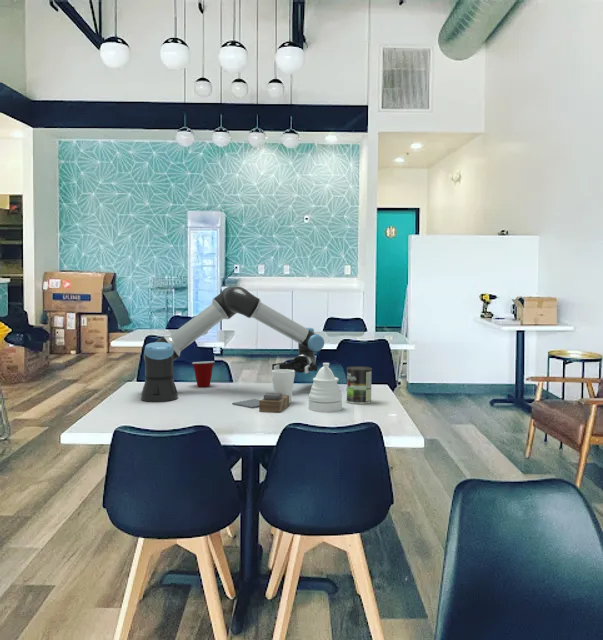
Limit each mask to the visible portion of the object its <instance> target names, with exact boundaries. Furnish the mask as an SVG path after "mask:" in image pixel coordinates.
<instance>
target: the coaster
mask: <svg viewBox="0 0 603 640" xmlns="http://www.w3.org/2000/svg"><path fill="white" fill-rule="evenodd" d="M260 400H261V399H258V398H252V399H245V400H242V401H241V400H240V401H235V402H232V405H234V406H239V407H244V408H249V409H255V408H259V401H260Z"/></svg>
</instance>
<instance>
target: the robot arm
mask: <svg viewBox="0 0 603 640" xmlns="http://www.w3.org/2000/svg"><path fill="white" fill-rule="evenodd" d="M236 314H238V315H242V316H245V317H246V318H248V319H251V318H253V319H255V320H256V321H258V322H260V323H262V324H263V325H266V327H269V328H271V329H273V331H276V332H278V333H279V334H282V335H283V336H285V337H287V338H289V339H290V340H292V341H294V342H296V343H298V344H297V347H298V356H296V357H294V358H293V360H292V361H283V362H279V363H273V364H272V363H271V364H272V365H271V368H272V369H271V371H272V370H279V369H289V370H294V371H295V373H299V374H301V373H304V374H308V373H309V372H313V371H314V372H318V364H316V362H317V357H316V356H315V352H319V351H321V350H322V349H323V348H324V346H325V339H324V337H323V336H322V335H320V334H318V333H315V329H314V328H313V327H305V326H303V325H301V324H299V323H298V322H296V321H294V320H292V319H290V318H289V317H287V316H285V315H284V314H282V313H280V312H278V311H276V310H275V309H273V308H272V307H270V306H268V305H266V304H264V303H263V302H261V298H258V297H257V296H256V295H254V294H252V293H251V292H249V291H248V290H247V289H245V288H244V287H242V286H235V285H232V286H231V285H230V286H227V287H225V288H224V289H222V291H221V292H220V293H219V294H217V295H216V296H215V297H213V298H212V301H211V304H210V305H208V306H207V307H205V309H203V310H202V311H200V312H199V313H198V314H196V315H195V316H194V317H193V318H191V319H190V320H188V321H187V322H186V323H184V324H183V325H182V326H180V327H179V328H178V329H176V330H175V331H174V332H173V333H171V334H170V335H163V336H162V337H160V338H158V339H157V340H155V342H150V343H147V344H146V345H145V346H144V349H143V350H144V351H143V360H144V376H145V377H144V385H143V387H142V391H141V393H140V398H141V401H144V402H150V403H151V402H169V401H174V400H177V399H178V398H179V394H178V392H179V391H178V390H177V386H176V384H175V379H174V361H176V360H177V359H179V358H180V356H181V352H182V351H183V350H184V349H185V348H187V347H189V346H190V345H191V344H192V343H194V342H195V341H197V340H199V338H201V337H202V336H203V335H204V334H206V333H207V332H208V331H210V330H211V329H212V328H213V327H215V326H216V325H218V324H219V323H220V322H221V321H223V320H230V319H232V318H233V317H234V316H235V315H236Z"/></svg>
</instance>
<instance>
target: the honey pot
mask: <svg viewBox="0 0 603 640" xmlns="http://www.w3.org/2000/svg"><path fill="white" fill-rule="evenodd" d="M339 379H340V378H338V377H336V376H335V375H334V373H333V371H332V369H331V368H330V362H322V367H320V368H319V370H317V373H316V375H315V377H313V378H312V381H313V383H312V386H311V388H310V392H309V394H308V410H309V411H312V412H319V413H321V412H322V413H333V412H339V411H342V408H343V403H342V402H343V401H342V398H343V397H342V394H341V389H340V386H339V384H338V382H339Z"/></svg>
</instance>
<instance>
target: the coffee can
mask: <svg viewBox="0 0 603 640" xmlns="http://www.w3.org/2000/svg"><path fill="white" fill-rule="evenodd" d="M372 370H373V368H372V367H370V366H364V365H363V366H360V365H359V366H357V365H356V366H355V365H354V366H347V367H346V403H348V404H351V405H367V404H371V403H372V375H373V374H372Z"/></svg>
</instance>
